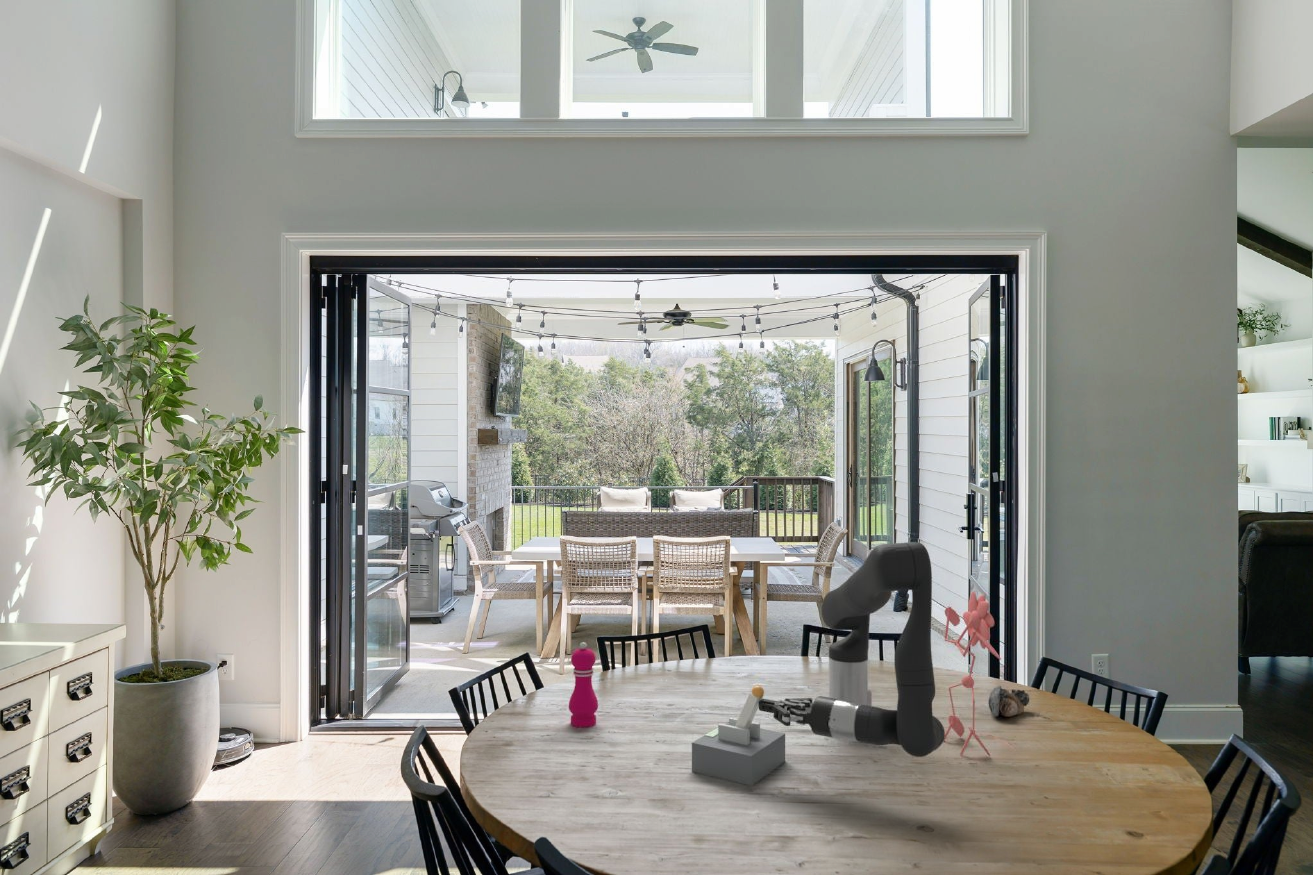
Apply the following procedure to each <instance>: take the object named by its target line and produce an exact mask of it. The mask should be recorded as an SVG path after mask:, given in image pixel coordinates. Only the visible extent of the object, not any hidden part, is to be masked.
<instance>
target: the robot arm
mask: <svg viewBox="0 0 1313 875" xmlns="http://www.w3.org/2000/svg"><path fill="white" fill-rule="evenodd" d="M931 562H932V561H931V557H930V554H929V552H928V549H927V548H926V546H925V545H924V544H923V543H921V542H917V541H912V542H911V541H909V542H893V543H882V544H878V545H877V546H875V547H874V548H872V550H871V551H870V553H869V554H868V556H867V557H866V559H865V561H864V562H863V564H862V565H861V566H860V567H859V568H858V569H857V570H856V571H855V572H853V573H852V574H851V576H849V577H848V578H847V580H846V581H844V582H843V583H842V584H841V585H839V586H838V587H837V588H835V589H832V590H831V591H828V592H827V593H826V594H825V595H824V598H823V601H822V603H821V610H820V611H821V618H822V620H823V622H824V625H826V627H828V628H829V629H830V630H835V631H851V632H850V633H849V634H848V635H847V636H845V637H844V638H842V639H840V640H838V641H836V642H833V643H831V644H830V645H829V648H828V696H822V695H819V696H817V697H815V699H814V700H813V698H811V697H801V698H800V697H799V698H796V697H795V698H792V697H791V698H784V699H783V700H782V699H779V700H773V699H768V698H762V699H761V700H760V701H759V707H758V710H759V711H761V712H764V713H770V714H773V718H774V719H775V720H776V721H778V722H779V723H781V724H782V725H784V726H785V727H789V726H791V722H793V723H795V724H796V725H801V726H805V725H809V727H810V729H811V732H812V733H813V734H815V735H817V736H823V737H827V738H832V739H836V740H841V741H848V742H858V743H864V744H869V745H874V746H886V745H896V746H901V748H903V750H904V751H905V753H907V754H908V755H910V756H912V757H915V758H921V757H922V758H923V757H925V756H928V755H930V754H932V753H933V752H934V751H936V750H938V748H940V747H941V746H942V744H943V742H945V741H944V737H945V733H946V731H945V728H944V726H943V724H942V722H941V721H940V720H939V718H937V717H935V715H934V714H933V701H934V698H935V696H936V683H935V674H934V666H933V665H934V664H933V656H932V635H931V634H932V611H933V609H932V607H933V604H932V602H933V600H932V599H933V598H932V597H933V596H932V595H933V594H932V593H933V589H932V588H933V582H932V581H933V577H932V575H933V574H932V571H933V570H932V563H931ZM897 591H900V592H901V591H911V595H912V596H911V597H912V600H911V610H910V614H909V615H908V616H909V617H908V618H907V619H908V620H907V621H906V624H905V626H904V628H903V630H902V633H901V634H900V637H899V639H898V640H897V641H898V642H897V644H896V646H895V651H894V658H893V659H894V670H895V680H896V688H897V690H896V691H897V702H896V703H897V704H896V706H897V707H896V709H886V708H881V707H877V706H873V705H872V704H873V703H872V702H873V701H872V699H873V695H872V694H873V692H872V690H870V689H869V647H870V646H869V644H870V621H871V620H870V619H871V618H870V617H871V614H873V613H876V612H878V611H879V610H880V609H882V608H884V607H885V606H886V604H888V602H889V601H890V599H891V596H892V593H893V592H897Z"/></svg>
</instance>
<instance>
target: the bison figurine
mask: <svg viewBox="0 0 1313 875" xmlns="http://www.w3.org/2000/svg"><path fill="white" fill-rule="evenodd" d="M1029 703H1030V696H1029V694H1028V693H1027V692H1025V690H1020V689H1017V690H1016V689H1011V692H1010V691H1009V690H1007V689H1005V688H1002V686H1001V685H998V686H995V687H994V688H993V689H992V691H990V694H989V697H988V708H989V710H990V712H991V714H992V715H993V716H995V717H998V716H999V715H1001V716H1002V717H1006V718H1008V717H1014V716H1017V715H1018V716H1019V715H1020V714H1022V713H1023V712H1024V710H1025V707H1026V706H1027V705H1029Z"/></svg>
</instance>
